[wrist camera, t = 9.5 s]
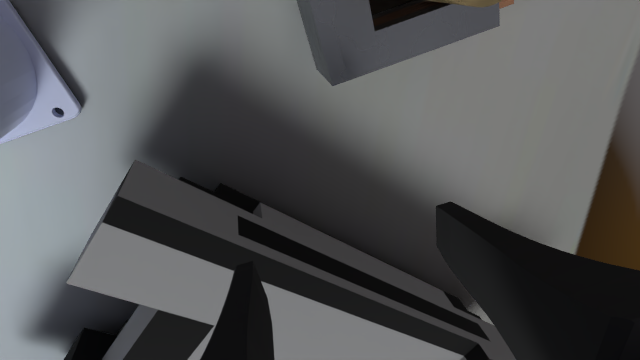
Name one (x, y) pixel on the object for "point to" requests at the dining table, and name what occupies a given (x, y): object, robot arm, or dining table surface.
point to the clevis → (385, 32)
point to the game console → (276, 277)
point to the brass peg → (470, 2)
